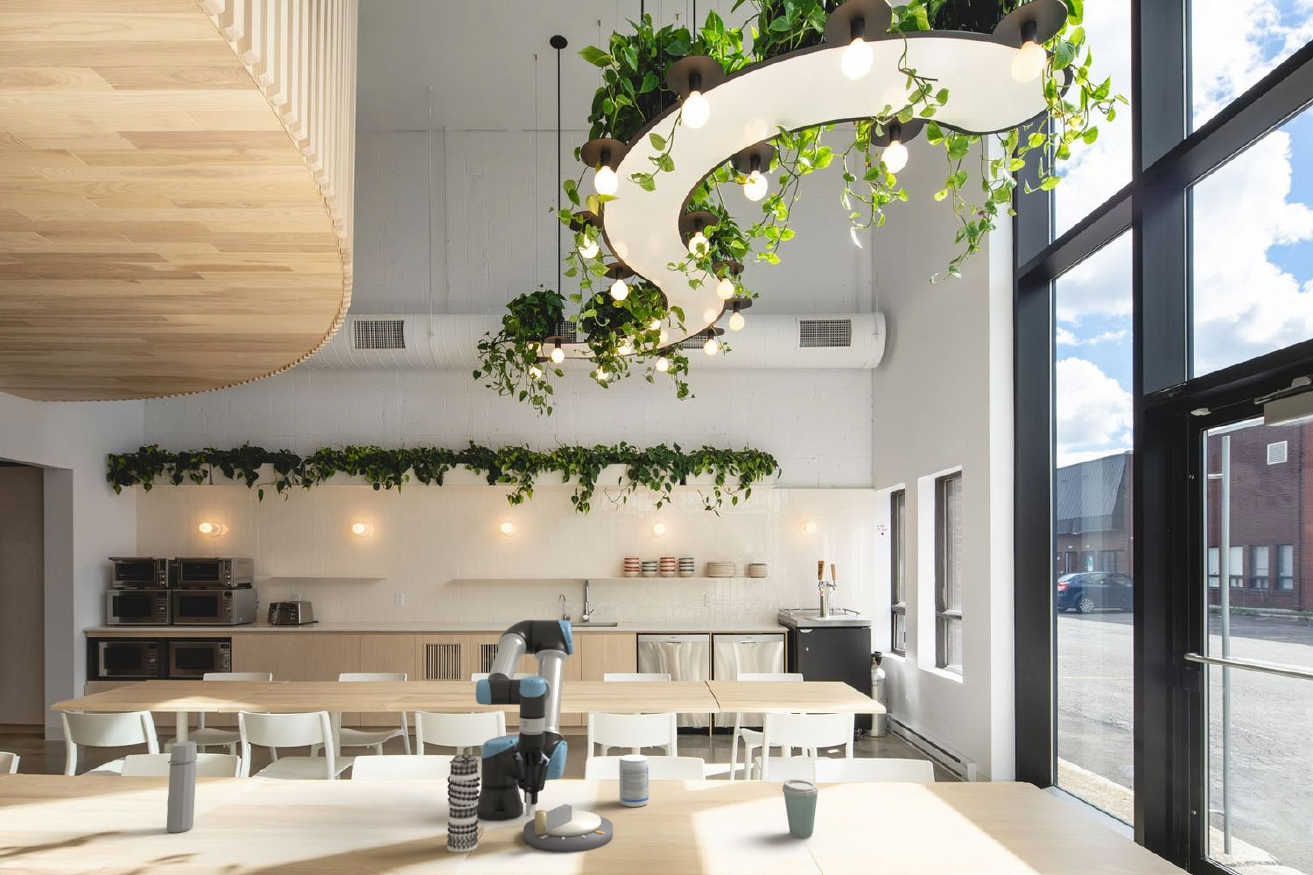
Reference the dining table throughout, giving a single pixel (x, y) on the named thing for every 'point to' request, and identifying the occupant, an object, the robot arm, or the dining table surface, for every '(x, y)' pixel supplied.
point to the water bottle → (181, 787)
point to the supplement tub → (634, 780)
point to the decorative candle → (463, 803)
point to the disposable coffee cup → (800, 806)
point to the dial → (566, 822)
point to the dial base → (568, 839)
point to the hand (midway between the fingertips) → (530, 815)
